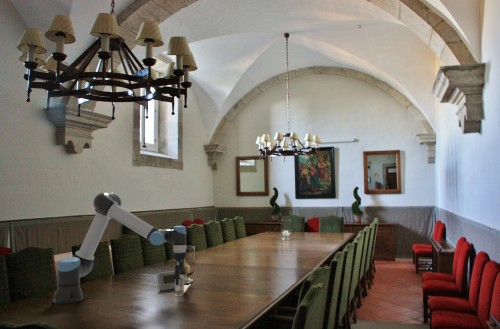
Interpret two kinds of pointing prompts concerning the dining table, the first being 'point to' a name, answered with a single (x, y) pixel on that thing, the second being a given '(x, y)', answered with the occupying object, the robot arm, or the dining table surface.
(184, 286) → the lath
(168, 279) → the digital clock
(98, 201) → the robot arm
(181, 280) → the tan wooden block
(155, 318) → the dining table surface
